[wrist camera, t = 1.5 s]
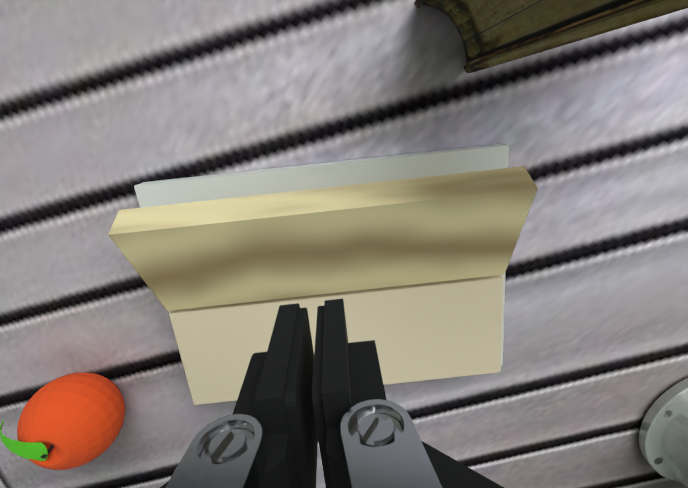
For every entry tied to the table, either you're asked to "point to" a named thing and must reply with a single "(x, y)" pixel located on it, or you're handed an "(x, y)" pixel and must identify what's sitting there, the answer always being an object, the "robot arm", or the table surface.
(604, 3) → the book
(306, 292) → the honey plank
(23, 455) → the clementine
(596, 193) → the table surface
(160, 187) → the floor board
